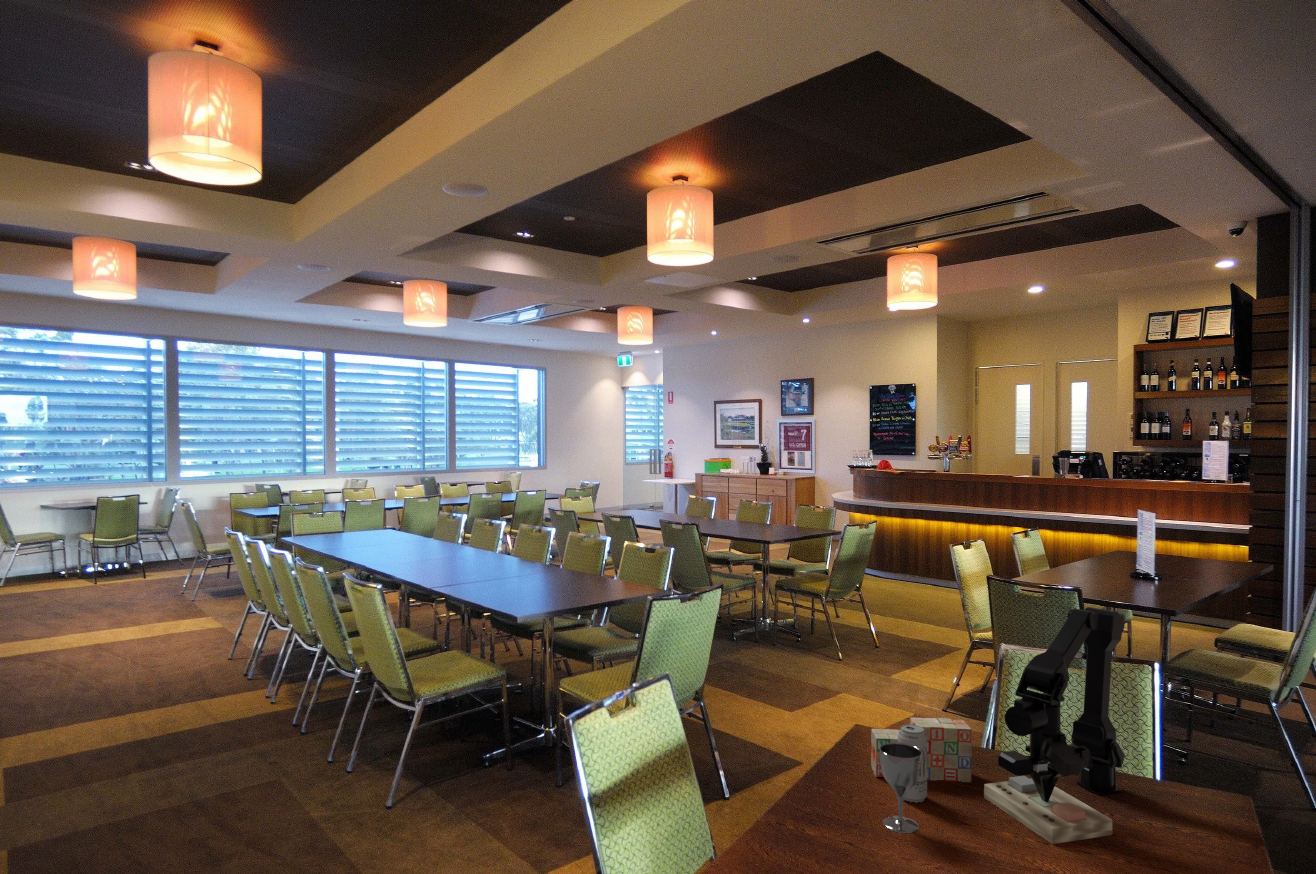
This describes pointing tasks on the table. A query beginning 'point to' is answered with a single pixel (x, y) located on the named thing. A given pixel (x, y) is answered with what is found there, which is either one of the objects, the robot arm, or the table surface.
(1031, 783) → the three-dot key
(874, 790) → the table surface
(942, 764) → the stack of blocks
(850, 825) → the table surface
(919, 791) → the energy drink can
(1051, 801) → the one-dot key
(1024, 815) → the key panel
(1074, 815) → the two-dot key
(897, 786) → the wine glass
